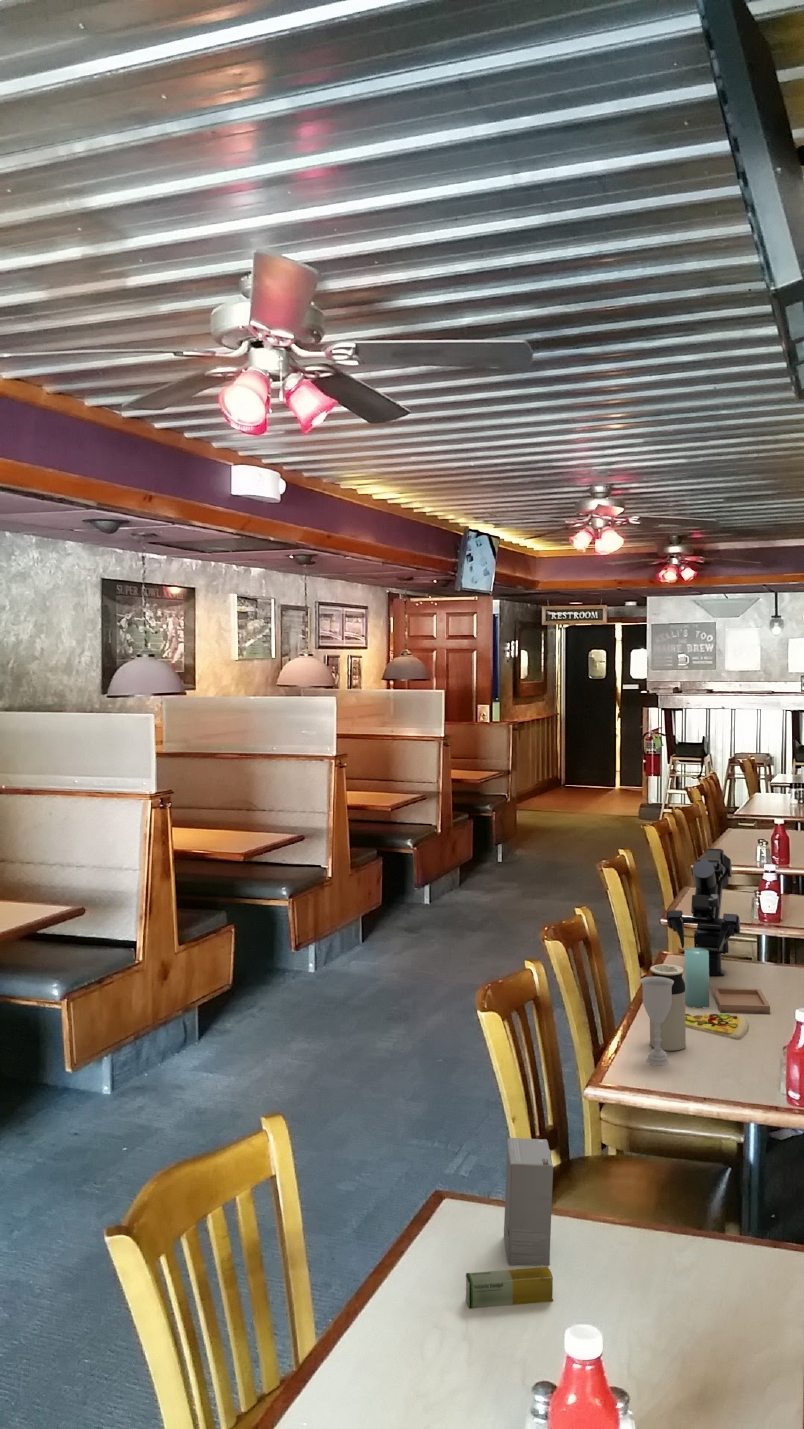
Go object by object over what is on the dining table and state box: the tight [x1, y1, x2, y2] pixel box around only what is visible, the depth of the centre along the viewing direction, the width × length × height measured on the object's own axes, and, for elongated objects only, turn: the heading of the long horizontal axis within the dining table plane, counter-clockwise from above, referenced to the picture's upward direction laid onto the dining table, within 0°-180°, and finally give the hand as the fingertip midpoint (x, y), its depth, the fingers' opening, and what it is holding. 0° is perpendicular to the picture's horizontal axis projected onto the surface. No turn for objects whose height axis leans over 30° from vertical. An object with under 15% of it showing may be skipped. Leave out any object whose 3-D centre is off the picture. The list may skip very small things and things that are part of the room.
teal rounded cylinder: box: [684, 947, 710, 1009], centre depth 271 cm, size 6×6×14 cm
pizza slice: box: [685, 1013, 750, 1041], centre depth 256 cm, size 16×21×3 cm
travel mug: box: [649, 963, 687, 1052], centre depth 242 cm, size 8×8×18 cm
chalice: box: [639, 976, 674, 1066], centre depth 233 cm, size 7×7×18 cm
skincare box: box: [503, 1137, 554, 1266], centre depth 158 cm, size 8×7×16 cm
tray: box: [712, 987, 771, 1015], centre depth 270 cm, size 14×12×2 cm
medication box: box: [465, 1266, 554, 1310], centre depth 146 cm, size 12×3×4 cm, turn 97°
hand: (700, 949), depth 277 cm, fingers open, 9 cm apart
